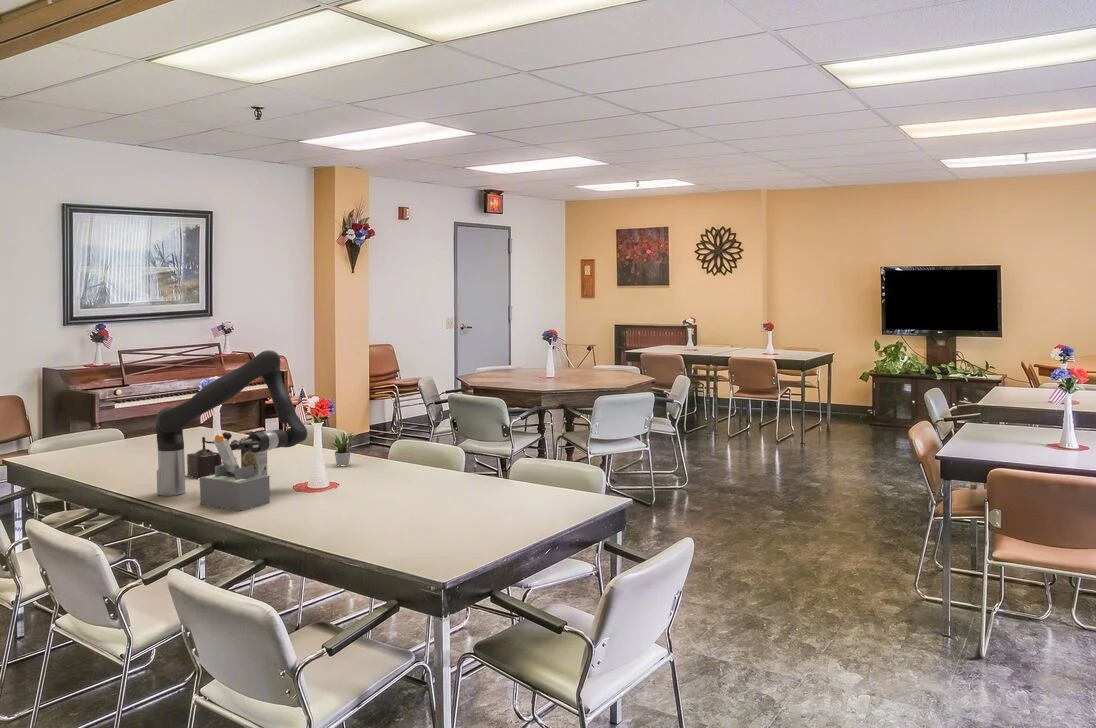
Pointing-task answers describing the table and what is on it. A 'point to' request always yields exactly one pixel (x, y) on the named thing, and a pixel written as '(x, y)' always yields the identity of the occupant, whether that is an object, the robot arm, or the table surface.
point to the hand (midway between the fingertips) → (226, 448)
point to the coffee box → (255, 461)
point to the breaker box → (235, 488)
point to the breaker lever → (226, 454)
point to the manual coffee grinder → (204, 460)
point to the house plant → (342, 449)
